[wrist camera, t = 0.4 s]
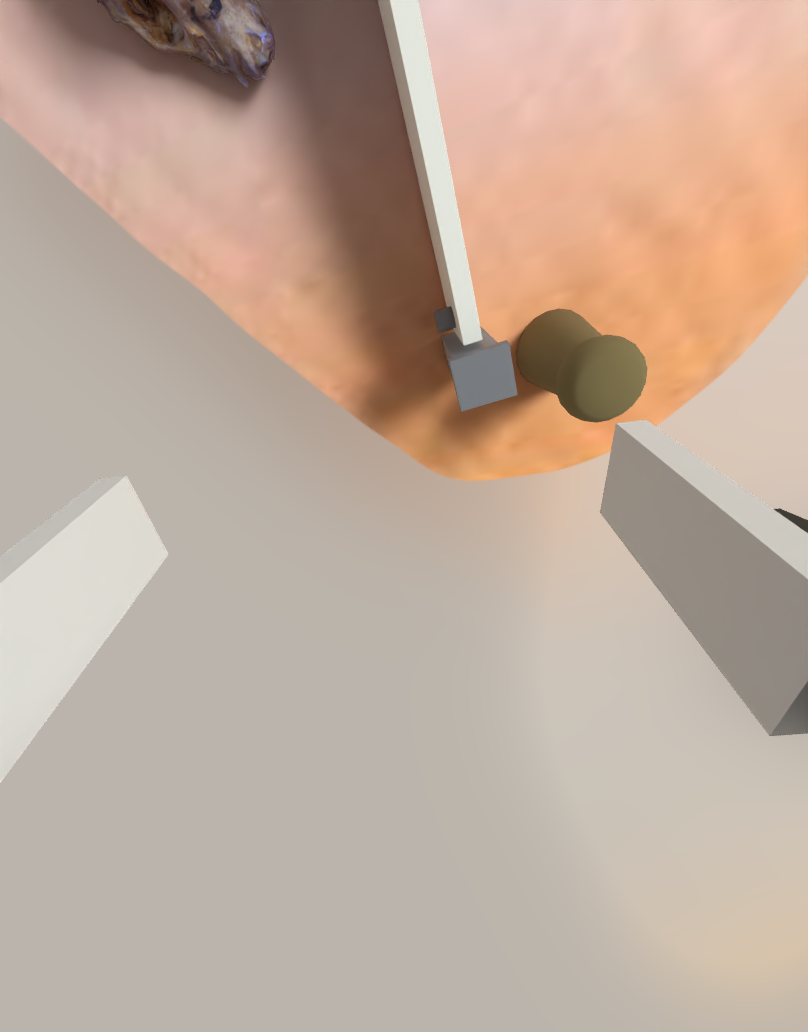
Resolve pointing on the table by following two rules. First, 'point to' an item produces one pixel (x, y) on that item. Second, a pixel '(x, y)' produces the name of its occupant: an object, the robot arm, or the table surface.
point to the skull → (204, 32)
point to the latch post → (480, 370)
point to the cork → (581, 365)
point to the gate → (431, 164)
